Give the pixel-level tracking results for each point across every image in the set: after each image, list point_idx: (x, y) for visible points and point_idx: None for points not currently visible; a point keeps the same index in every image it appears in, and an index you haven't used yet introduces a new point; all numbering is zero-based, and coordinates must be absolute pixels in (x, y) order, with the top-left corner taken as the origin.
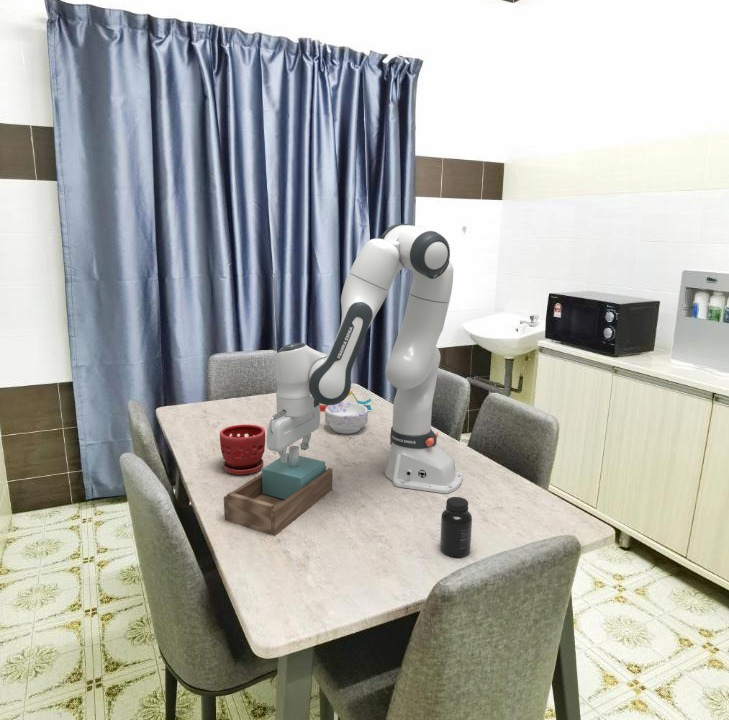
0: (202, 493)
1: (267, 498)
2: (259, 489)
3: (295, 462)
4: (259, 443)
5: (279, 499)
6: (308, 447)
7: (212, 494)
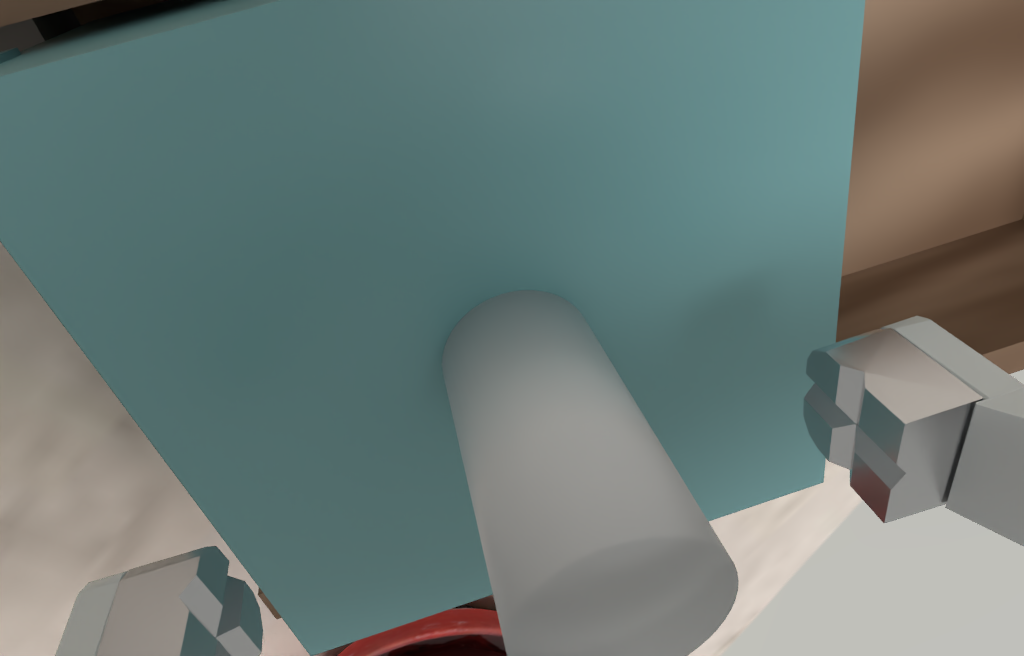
0: (792, 540)
1: None
2: None
3: (575, 336)
4: None
5: None
6: (93, 593)
7: (777, 509)
